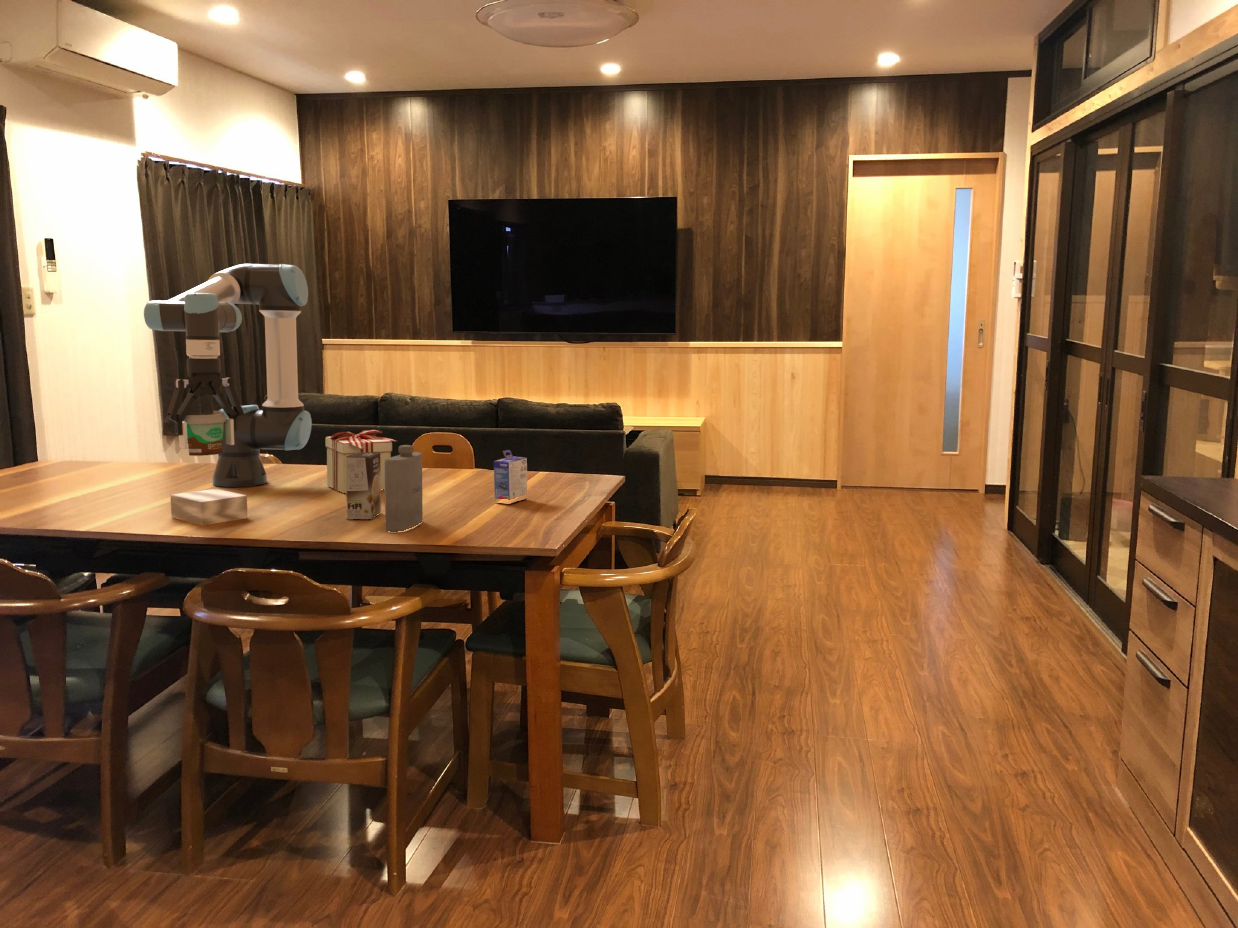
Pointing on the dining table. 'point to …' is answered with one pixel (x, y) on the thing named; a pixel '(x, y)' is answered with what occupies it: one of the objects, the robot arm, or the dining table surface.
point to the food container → (205, 433)
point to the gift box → (349, 445)
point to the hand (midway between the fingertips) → (207, 446)
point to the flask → (403, 490)
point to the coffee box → (363, 485)
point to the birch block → (209, 506)
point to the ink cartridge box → (510, 477)
